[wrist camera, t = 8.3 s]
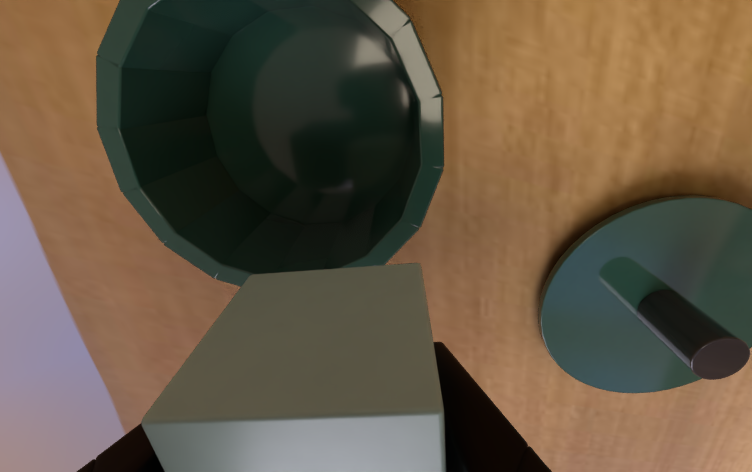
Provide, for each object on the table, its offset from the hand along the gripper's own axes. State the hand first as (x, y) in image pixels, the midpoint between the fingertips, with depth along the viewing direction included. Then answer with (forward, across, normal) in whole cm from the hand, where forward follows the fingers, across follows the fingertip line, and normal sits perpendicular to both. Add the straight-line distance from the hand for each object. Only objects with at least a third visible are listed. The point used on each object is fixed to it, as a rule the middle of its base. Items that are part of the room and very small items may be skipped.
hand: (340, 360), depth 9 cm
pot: (+11, +2, -5) cm, 12 cm away
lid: (+10, -16, +6) cm, 20 cm away
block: (+1, 0, 0) cm, 1 cm away
